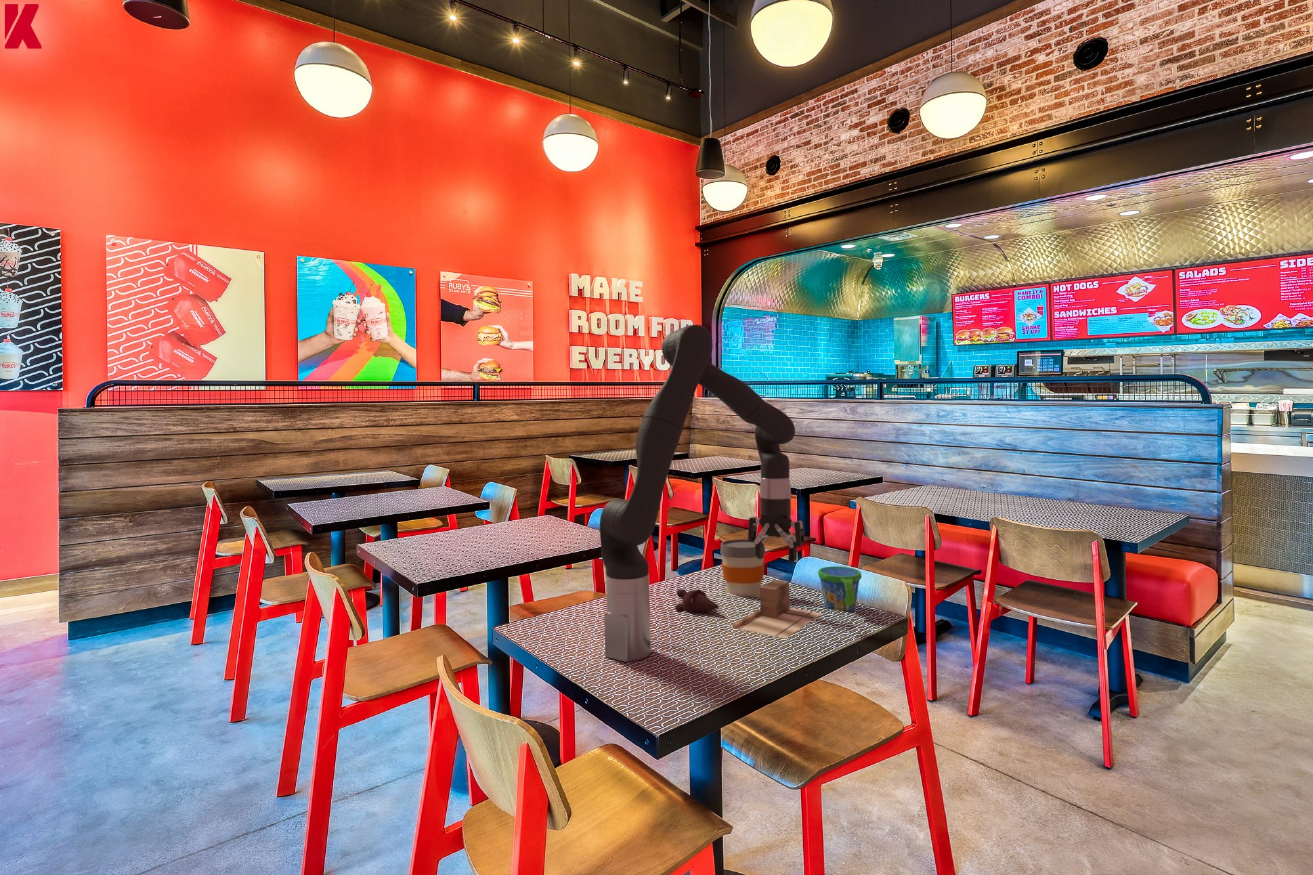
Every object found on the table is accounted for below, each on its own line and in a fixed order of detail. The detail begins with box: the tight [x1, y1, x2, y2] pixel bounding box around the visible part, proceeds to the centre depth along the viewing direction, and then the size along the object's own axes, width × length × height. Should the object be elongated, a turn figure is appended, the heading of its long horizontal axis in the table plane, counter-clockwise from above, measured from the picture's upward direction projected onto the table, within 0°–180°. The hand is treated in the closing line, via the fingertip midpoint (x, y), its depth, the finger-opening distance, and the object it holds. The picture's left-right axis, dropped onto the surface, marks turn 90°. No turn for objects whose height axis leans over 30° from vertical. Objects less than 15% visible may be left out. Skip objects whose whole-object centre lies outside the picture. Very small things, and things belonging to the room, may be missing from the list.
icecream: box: [674, 588, 720, 614], centre depth 161 cm, size 7×7×15 cm
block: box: [759, 579, 791, 618], centre depth 158 cm, size 9×4×7 cm, turn 143°
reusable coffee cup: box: [720, 538, 766, 598], centre depth 177 cm, size 13×13×15 cm
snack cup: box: [817, 565, 862, 614], centre depth 163 cm, size 16×10×10 cm
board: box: [730, 607, 823, 640], centre depth 152 cm, size 21×14×2 cm, turn 143°
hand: (775, 560), depth 158 cm, fingers open, 8 cm apart
